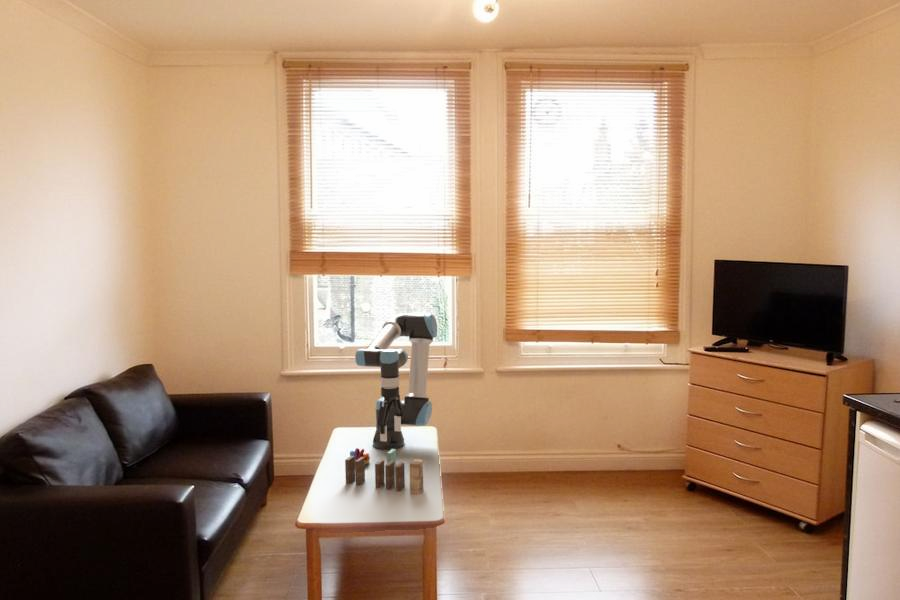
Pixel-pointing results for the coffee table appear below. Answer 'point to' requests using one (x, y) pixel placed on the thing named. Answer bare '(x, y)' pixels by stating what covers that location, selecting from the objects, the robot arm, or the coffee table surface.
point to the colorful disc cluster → (360, 455)
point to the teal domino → (392, 457)
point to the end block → (416, 476)
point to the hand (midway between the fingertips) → (390, 435)
